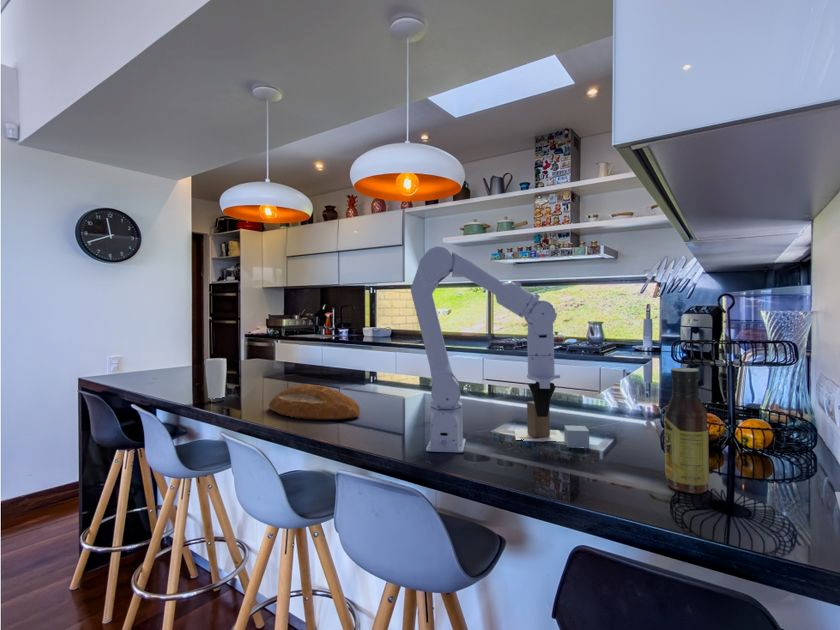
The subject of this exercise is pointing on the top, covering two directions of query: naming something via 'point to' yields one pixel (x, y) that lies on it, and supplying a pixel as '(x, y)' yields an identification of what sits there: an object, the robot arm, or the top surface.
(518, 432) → the letter
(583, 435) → the slate cube
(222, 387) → the drinking glass
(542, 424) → the wooden block
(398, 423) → the top surface
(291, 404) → the bread
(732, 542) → the top surface
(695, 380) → the sauce bottle
